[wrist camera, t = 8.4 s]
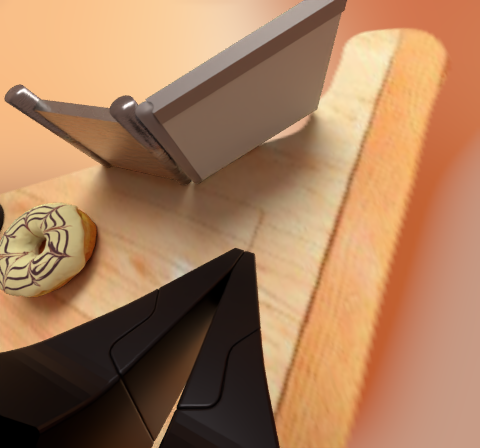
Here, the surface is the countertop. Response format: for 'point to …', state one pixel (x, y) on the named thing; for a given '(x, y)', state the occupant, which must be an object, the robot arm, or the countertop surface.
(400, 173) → the countertop surface
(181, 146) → the gate leaf
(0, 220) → the bottle
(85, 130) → the gate frame
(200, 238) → the countertop surface
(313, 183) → the countertop surface
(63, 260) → the decorated donut
